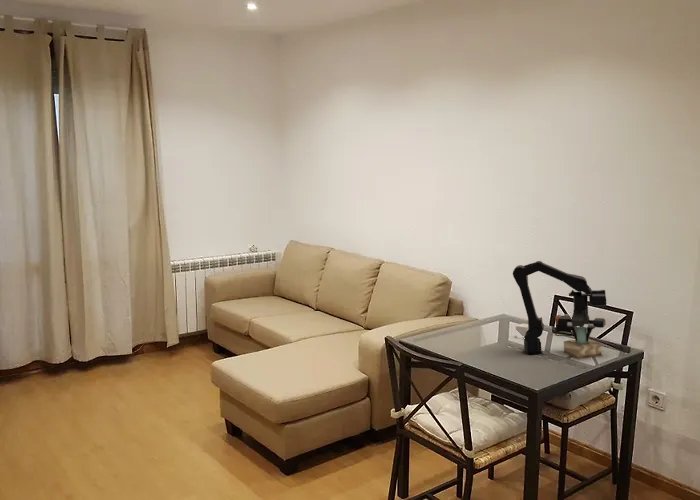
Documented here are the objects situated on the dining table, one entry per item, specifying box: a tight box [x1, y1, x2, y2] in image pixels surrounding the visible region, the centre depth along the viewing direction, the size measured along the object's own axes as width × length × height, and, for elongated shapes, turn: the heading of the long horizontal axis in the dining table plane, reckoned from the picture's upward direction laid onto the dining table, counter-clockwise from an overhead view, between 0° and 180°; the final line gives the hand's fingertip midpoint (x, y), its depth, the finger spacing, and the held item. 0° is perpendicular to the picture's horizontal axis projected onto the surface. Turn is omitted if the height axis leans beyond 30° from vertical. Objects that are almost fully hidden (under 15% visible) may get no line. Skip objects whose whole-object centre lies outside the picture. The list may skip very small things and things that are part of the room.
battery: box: [555, 313, 572, 333], centre depth 297 cm, size 4×7×10 cm, turn 76°
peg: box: [577, 326, 587, 345], centre depth 264 cm, size 4×4×10 cm
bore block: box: [563, 338, 603, 360], centre depth 265 cm, size 11×11×5 cm
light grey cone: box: [515, 323, 529, 336], centre depth 299 cm, size 6×6×6 cm
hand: (582, 341), depth 265 cm, fingers closed on peg, 4 cm apart
